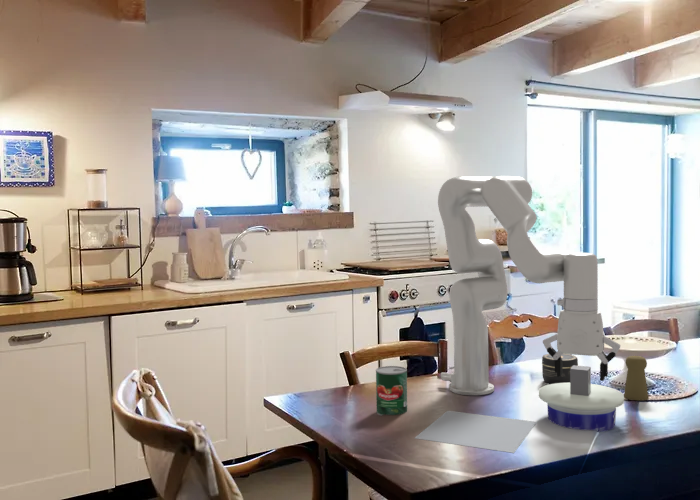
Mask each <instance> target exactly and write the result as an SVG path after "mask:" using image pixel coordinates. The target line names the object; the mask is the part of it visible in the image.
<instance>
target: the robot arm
mask: <svg viewBox="0 0 700 500" xmlns="http://www.w3.org/2000/svg"><path fill="white" fill-rule="evenodd" d="M532 199H533V188H532V186H531V184H530V182H529V181H528V180H527V179H525V178H523V177H521V176H513V175H512V176H511V175H499V176H497V175H496V176H472V175H471V176H469V175H463V176H456V177H451V178H449V179H447V180H446V181H444V183H443V184H442V185H441V187H440V189H439V191H438V194H437V207H438V211H439V215H440V218H441V221H442V224H443V229H444V235H445V237H444V238H445V242H446V248H447V254H448V255H447V256H448V261H449V265H450V268H451V270H452V271H453V272H454V273H457V274H463V275H464V274H475V273H476V274H477V277H476V276H475V277H467V278H462V279H459V280H457V281H455V282H454V283H453V284H452V285H451V287H450V289H449V294H448V296H449V297H448V298H449V303H450V309H451V313H452V323H453V361H454V362H453V364H454V365H453V372H451V373H449V372H441V373H440V379H441V380H442V381H447V382H450V384H448V389H449V391H450V392H452V393H454V394H457V395H463V396H464V395H465V396H483V395H489V394H491V393H493V392H494V391H495V386H494V384H492V383H491V382H489V330H488V329H489V328H488V324H487V321H486V318H485V316H484V315H483V311H489V310H497V309H500V308H501V307H503V306H504V305H505V303H507V299H508V283H507V278H506V272H505V267H504V259H503V256H502V252H501V249H500V248H499V246H498V245H497V243H495V241H493V240H491V239H487V238H479V239H478V238H477V237H478V236H477V233H476V227H475V223H474V220H473V219H472V217H471V215H470V214H469V213H468V211H467V209H466V208H469V207H473V208H474V207H475V208H477V207H479V208H481V207H484V208H485V207H488V209H490V210H489V211H491V213H492V214H493V215H494V216H495V218H496V220H497V221H498V222H499V224H500V225H501V227H503V229H504V230H505V232H506V233H507V238H506V243H507V244H506V246H507V250H508V255H509V258H510V259H511V261H512V263H513V264H514V265H515V267H516V268H517V270H518V271H519V272H520V273H521V275H522V276H523V277H524V278H526V280H528V281H529V282H531V283H533V284H546V283H556V282H557V283H558V282H563V297H562V298H561V299H557V303H556V305H557V306H561V307H562V309H561V310H560V312H559V314H558V315H559V316H558V320H557V321H558V322H557V333H556V334H553V335H551V336H549V337H546V338H545V339H543V340H542V344H543V346H544V347H545V349H546V352H547V354H550V355H551V356H552V357H553V359H554V360H555V372H557V377H560V376H561V375H562V358H561V355H562V354H570V355H574V356H576V355H577V356H589V357H597V358H598V359H599V360H600V364H599V380H600V381H601V382H604V380H605V378H608V376H609V373H608V372H609V369H608V368H609V367H608V366H609V365H608V364H609V362H610V361H612V360H613V359H614V358H615V357H616V355H617V354H618V352H619V350H620V349H621V344H620V343H618V342H616V341H615V340H612V339H611V338H608V337H607V336H605V334H604V333H605V332H604V323H603V318H602V317H603V316H602V313H601V311H600V310H598V309H599V305H598V296H599V295H598V290H599V289H598V287H599V286H598V285H599V284H598V283H599V282H598V277H599V276H598V274H599V273H598V271H599V270H598V257H597V255H596V254H594V253H593V252H592V253H591V252H571V251H567V250H548V251H540V250H538V249H537V248H536V246H535V245H534V243H533V242H532V240H531V239H530V238H529V235H528V232H529V231H530V230H531V229H532V228H533V227H534V226H535V224H536V221H537V214H536V212H535V211H534V210H533V208H532V207H531V205H530V202H531V201H532ZM553 342H556V349H557V351H556V349H554V347H553V346H552V344H551V343H553ZM605 345H606V346H609V347H611V351H610V352H609V353H608V354H606V353H605V351H604V350H605Z"/></svg>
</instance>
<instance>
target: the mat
mask: <svg viewBox="0 0 700 500" xmlns="http://www.w3.org/2000/svg"><path fill="white" fill-rule="evenodd" d="M537 422H538V421H534V420H533V421H532V420H528V419H527V420H524V419H519V418H518V419H517V418H509V417H500V416H493V415H486V414H476V413H469V412H460V411H453V410H446V411H445V412H443V414H441V416H439V417H438V418H437V419H436V420H434V421H433V422H432V423H431V424H430V425H428V426H427V427H426V428H425V429H423V430H422V431H421V432H420V433H418V434H417V435H416V436H415V437H414V439H417V440H424V441H431V442H436V443H442V444H449V445H451V444H452V445H456V446H463V447H468V448H469V447H470V448H471V447H472V448H477V449H484V450H490V451H498V452H503V453H510V454H515V452H516V451H517V450H518V448H519V447H520V446H521V444H522V443H523V441H524V440H525V439H526V437H528V435H529V434H530V433H531V431H532V429H534V426H535V425H536V424H537Z"/></svg>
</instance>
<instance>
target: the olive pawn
mask: <svg viewBox="0 0 700 500" xmlns="http://www.w3.org/2000/svg"><path fill="white" fill-rule="evenodd" d="M647 366H648V362H647V359H646V358H645V357H644V356H642V355H641V356H640V355H628V356H626V359H625V367H626V368H627V372H626V380H625V387H624V393H623V395H624V398H625V397H626V398H625V399H628V400H631V401H647V400H649V399H650V398H649V391H648V387H647V386H648V385H647V378H646V368H647Z"/></svg>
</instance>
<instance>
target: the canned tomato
mask: <svg viewBox="0 0 700 500" xmlns="http://www.w3.org/2000/svg"><path fill="white" fill-rule="evenodd" d="M407 372H408V369H407V368H406V367H404V366H398V365H387V366H379V367H378V368H376V369H375V384H376V385H375V387H376V389H375V390H376V391H375V393H376V395H375V397H376V399H375V400H376V402H375V403H376V414H377V415H378V416H381V417H382V416H384V415H386V416H394V415H395V416H396V415H397V416H398V415H403V414H405V413H407V412H408V373H407Z"/></svg>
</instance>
